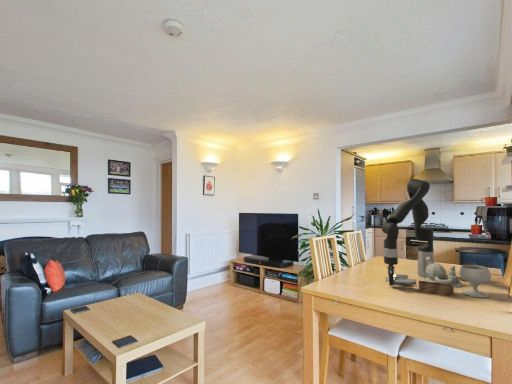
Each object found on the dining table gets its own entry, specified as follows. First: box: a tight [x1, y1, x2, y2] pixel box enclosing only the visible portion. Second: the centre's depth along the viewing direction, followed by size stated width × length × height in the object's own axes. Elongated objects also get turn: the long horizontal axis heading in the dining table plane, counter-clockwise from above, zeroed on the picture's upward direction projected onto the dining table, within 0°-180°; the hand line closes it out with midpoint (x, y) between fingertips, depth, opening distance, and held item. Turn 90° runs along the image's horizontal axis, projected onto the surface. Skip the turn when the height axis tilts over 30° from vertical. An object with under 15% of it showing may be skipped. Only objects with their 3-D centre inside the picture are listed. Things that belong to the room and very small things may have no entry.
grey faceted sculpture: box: [422, 257, 464, 289], centre depth 173 cm, size 20×15×15 cm
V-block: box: [393, 273, 409, 287], centre depth 174 cm, size 10×10×5 cm
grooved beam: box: [418, 280, 455, 297], centre depth 156 cm, size 16×7×5 cm, turn 62°
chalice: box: [458, 264, 492, 298], centre depth 152 cm, size 14×14×15 cm
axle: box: [385, 276, 417, 285], centre depth 164 cm, size 16×3×3 cm, turn 63°
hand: (391, 284), depth 166 cm, fingers closed on axle, 2 cm apart
